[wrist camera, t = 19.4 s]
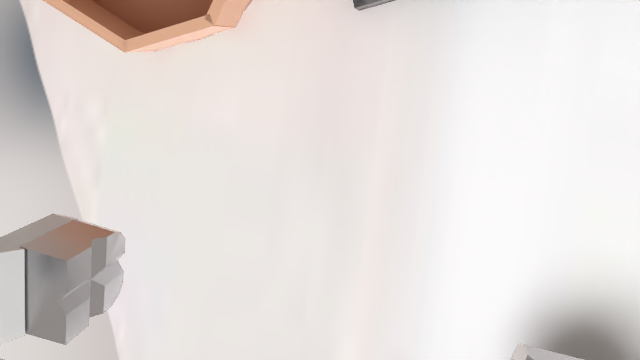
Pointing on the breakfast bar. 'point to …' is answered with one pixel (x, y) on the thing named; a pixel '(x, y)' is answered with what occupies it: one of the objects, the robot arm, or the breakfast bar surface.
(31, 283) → the robot arm
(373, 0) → the tray
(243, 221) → the breakfast bar surface
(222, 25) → the bowl
